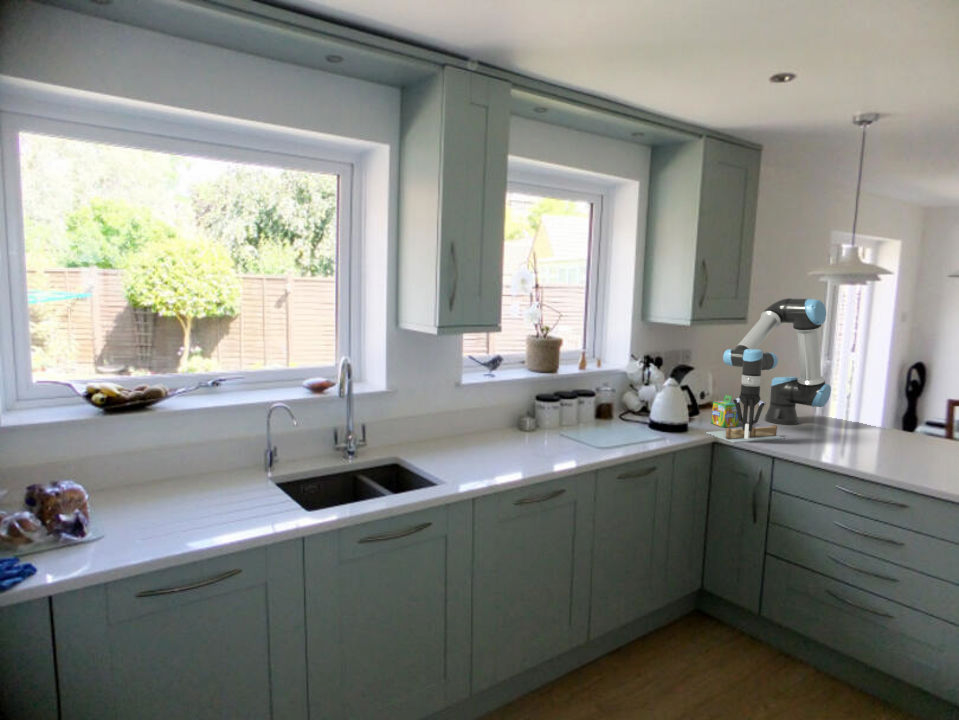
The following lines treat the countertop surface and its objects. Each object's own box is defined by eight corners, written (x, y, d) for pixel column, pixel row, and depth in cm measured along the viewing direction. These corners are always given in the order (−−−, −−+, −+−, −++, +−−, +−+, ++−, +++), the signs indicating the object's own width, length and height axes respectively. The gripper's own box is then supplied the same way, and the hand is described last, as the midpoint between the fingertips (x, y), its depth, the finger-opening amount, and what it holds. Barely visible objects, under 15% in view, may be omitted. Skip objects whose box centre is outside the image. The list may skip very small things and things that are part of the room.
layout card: (705, 432, 272) (705, 431, 272) (754, 429, 281) (754, 428, 280) (733, 442, 255) (733, 441, 255) (784, 438, 263) (784, 437, 263)
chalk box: (710, 423, 291) (712, 394, 289) (725, 422, 294) (727, 393, 292) (723, 428, 282) (725, 397, 281) (739, 427, 285) (741, 397, 284)
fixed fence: (747, 436, 264) (747, 426, 264) (773, 434, 269) (774, 424, 268) (751, 437, 262) (751, 427, 262) (777, 435, 267) (778, 426, 266)
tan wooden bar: (746, 436, 264) (747, 426, 263) (749, 437, 262) (750, 427, 262) (724, 437, 260) (725, 428, 260) (727, 438, 258) (728, 429, 258)
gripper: (732, 384, 254) (728, 437, 257) (764, 387, 246) (760, 442, 249) (737, 382, 260) (733, 434, 263) (769, 385, 252) (764, 439, 255)
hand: (746, 438), depth 256 cm, fingers closed
